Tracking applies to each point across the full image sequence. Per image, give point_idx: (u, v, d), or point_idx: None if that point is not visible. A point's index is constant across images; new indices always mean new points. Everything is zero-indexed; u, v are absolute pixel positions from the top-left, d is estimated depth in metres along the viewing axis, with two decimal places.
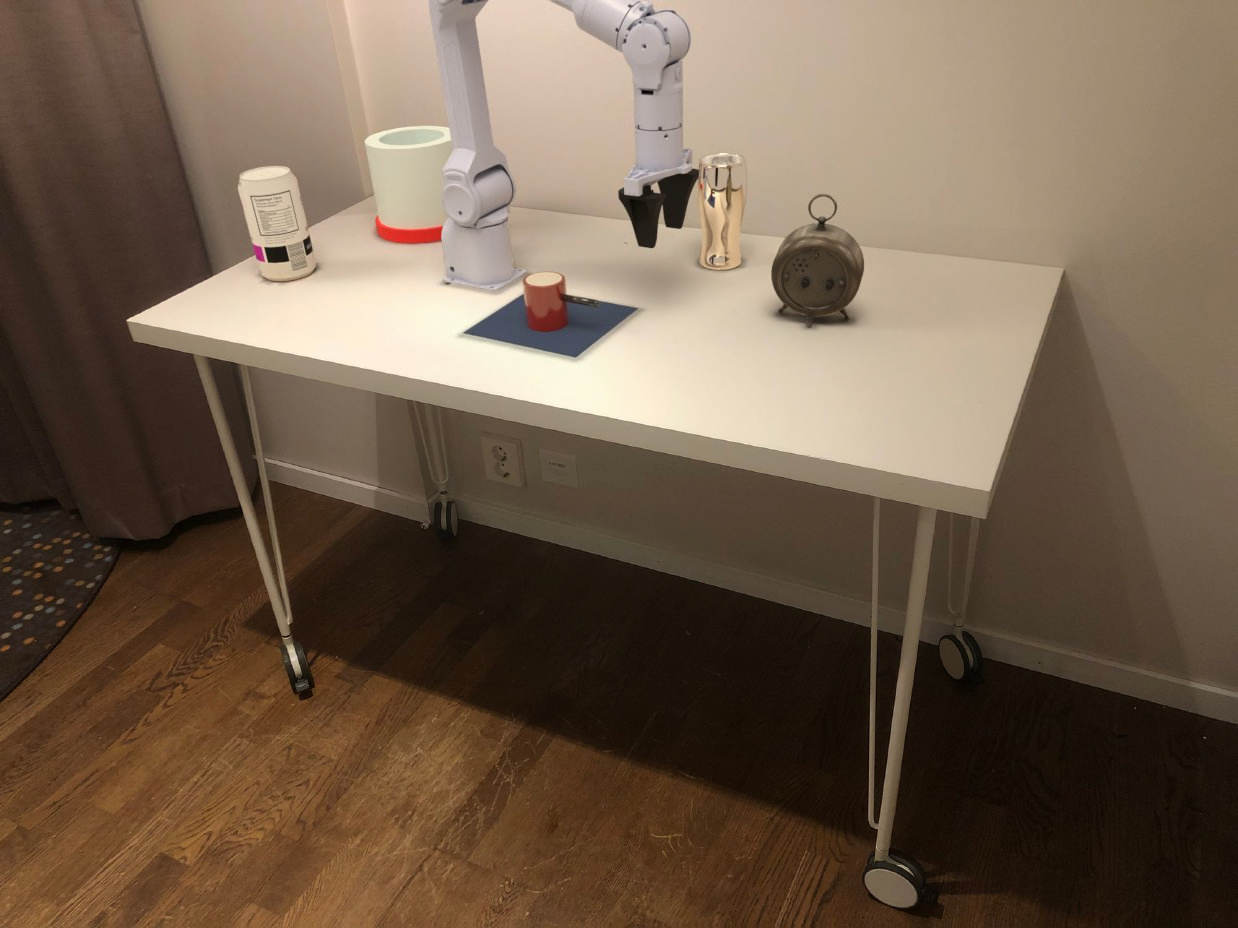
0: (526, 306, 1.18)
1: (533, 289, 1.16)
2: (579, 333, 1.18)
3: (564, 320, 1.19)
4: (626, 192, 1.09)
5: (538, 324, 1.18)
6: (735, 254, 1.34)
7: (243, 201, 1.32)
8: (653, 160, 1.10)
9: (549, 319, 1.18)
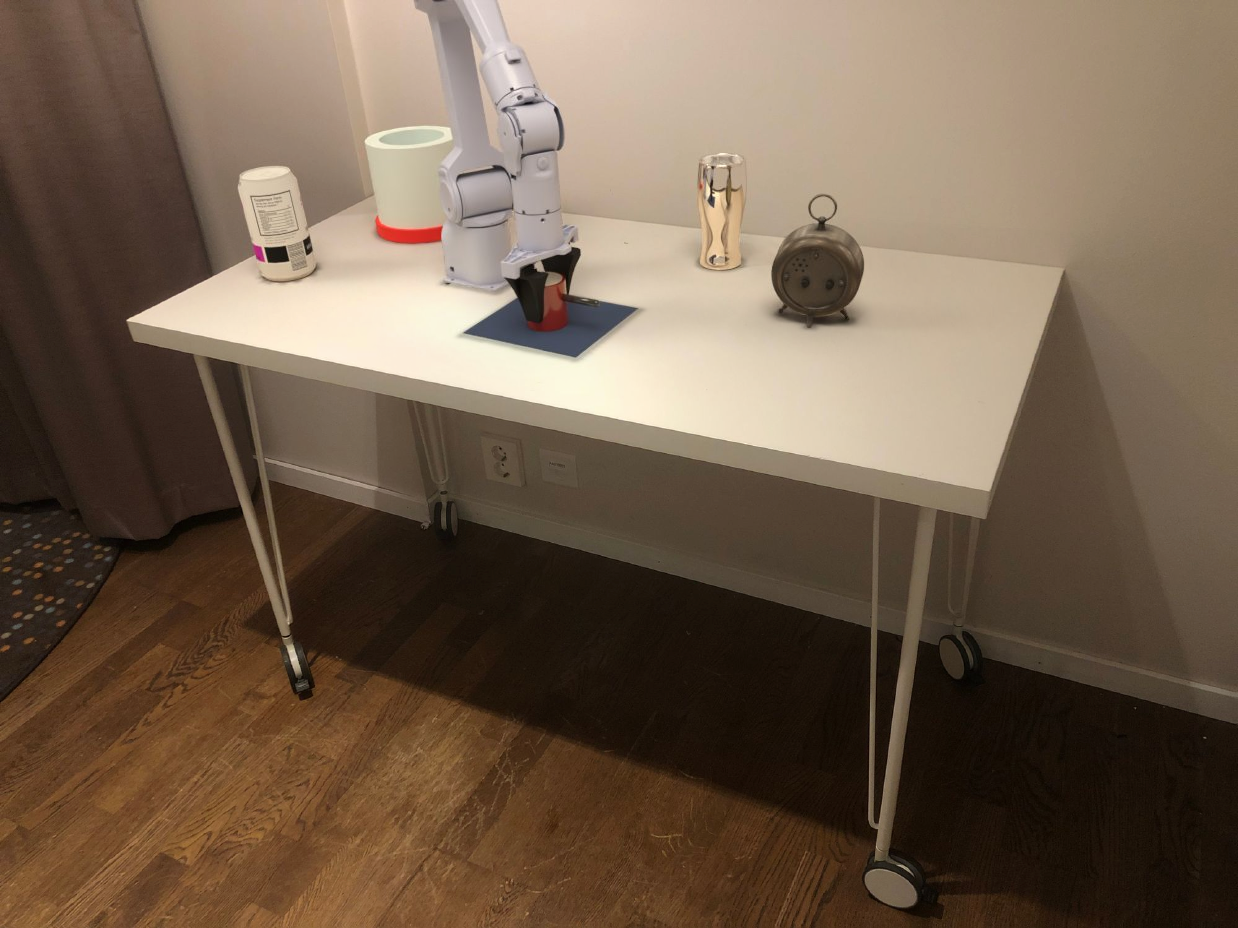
0: None
1: None
2: (579, 333, 1.18)
3: (564, 320, 1.19)
4: (504, 274, 1.11)
5: (538, 324, 1.18)
6: (735, 254, 1.34)
7: (243, 201, 1.32)
8: (531, 242, 1.12)
9: (549, 319, 1.18)
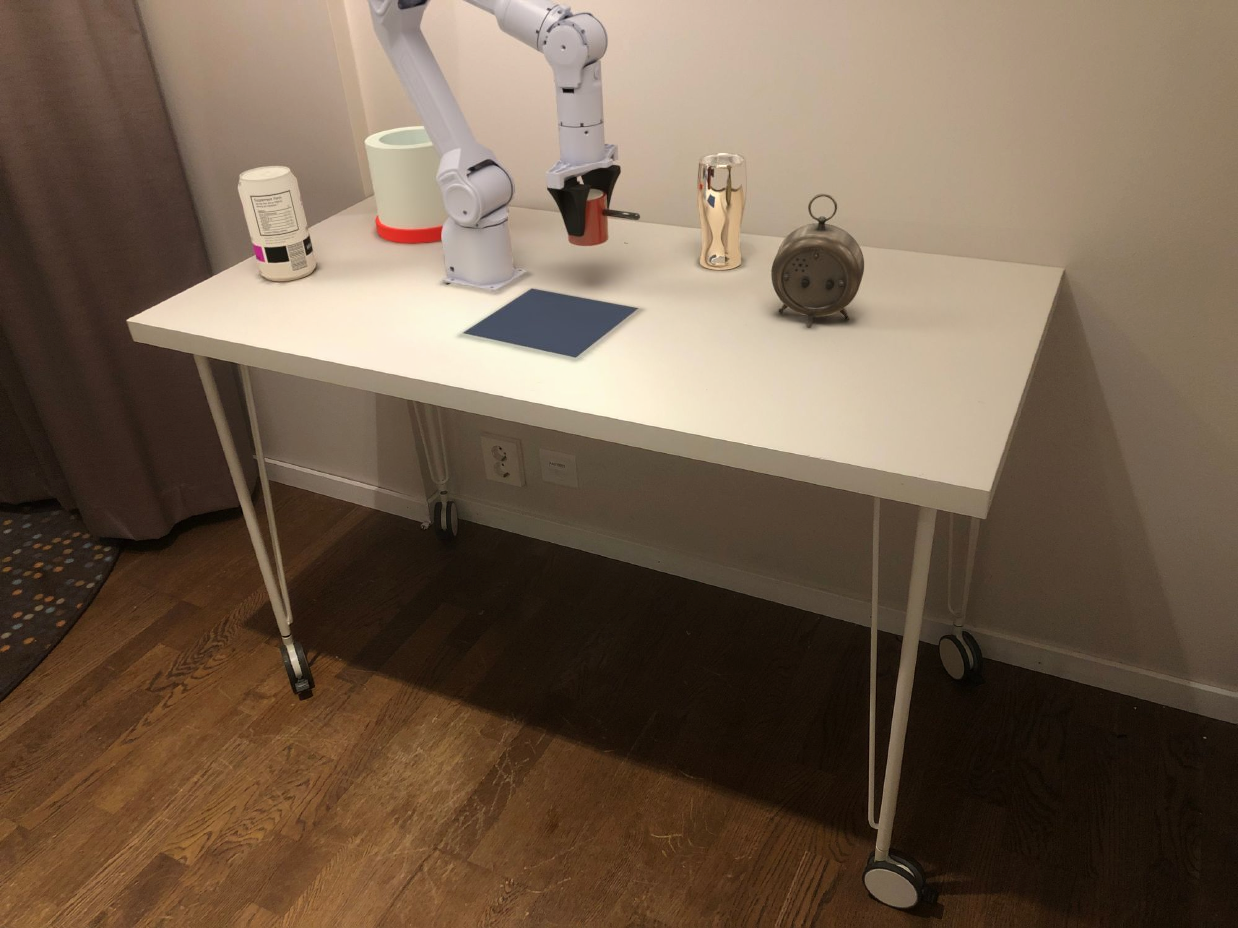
0: None
1: None
2: (579, 333, 1.18)
3: (605, 235, 1.23)
4: (549, 185, 1.15)
5: (579, 238, 1.22)
6: (735, 254, 1.34)
7: (243, 201, 1.32)
8: (575, 155, 1.16)
9: (590, 233, 1.21)
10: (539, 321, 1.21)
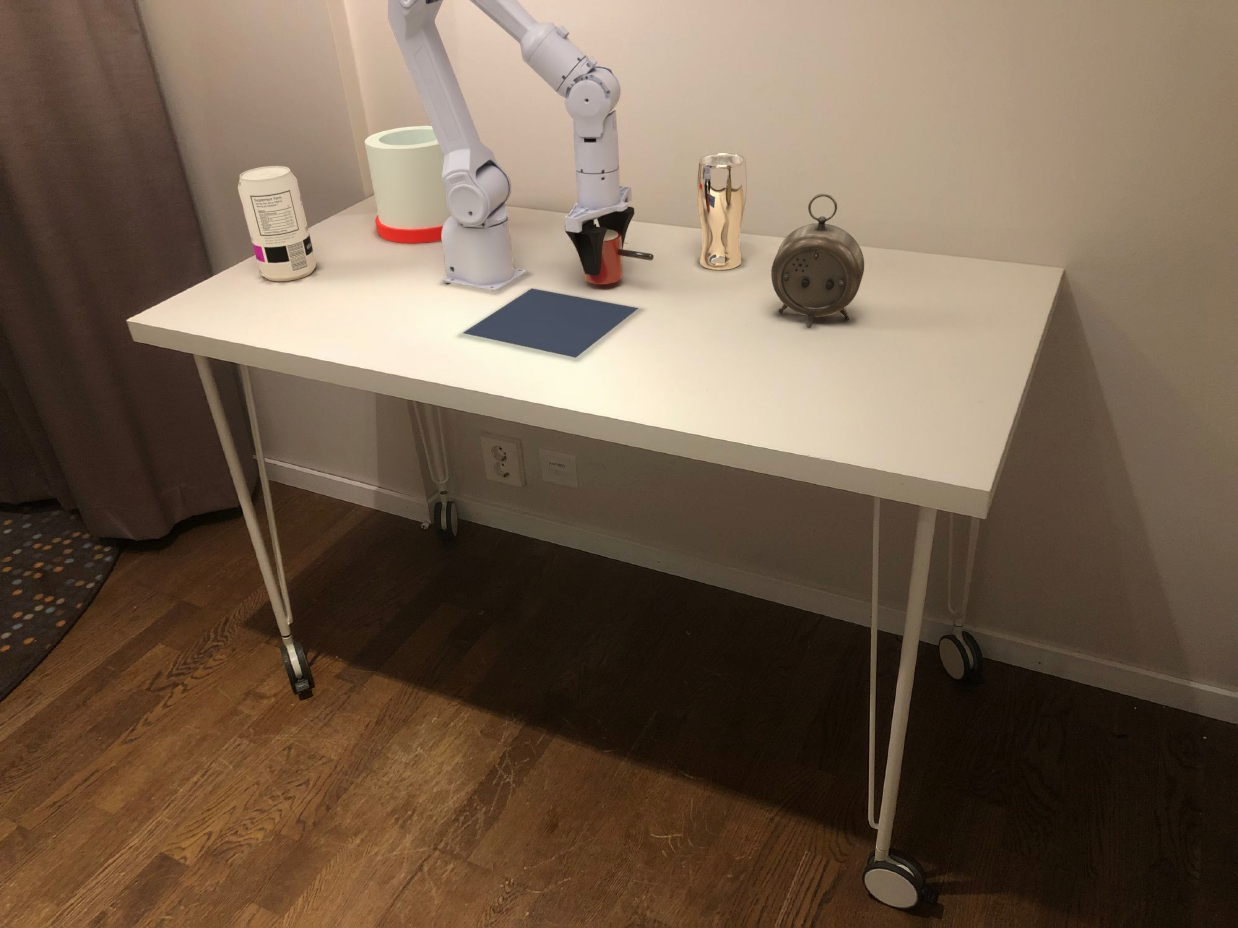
0: None
1: None
2: (579, 333, 1.18)
3: (619, 273, 1.29)
4: (567, 228, 1.21)
5: (595, 277, 1.28)
6: (735, 254, 1.34)
7: (243, 201, 1.32)
8: (592, 199, 1.22)
9: (606, 272, 1.28)
10: (539, 321, 1.21)
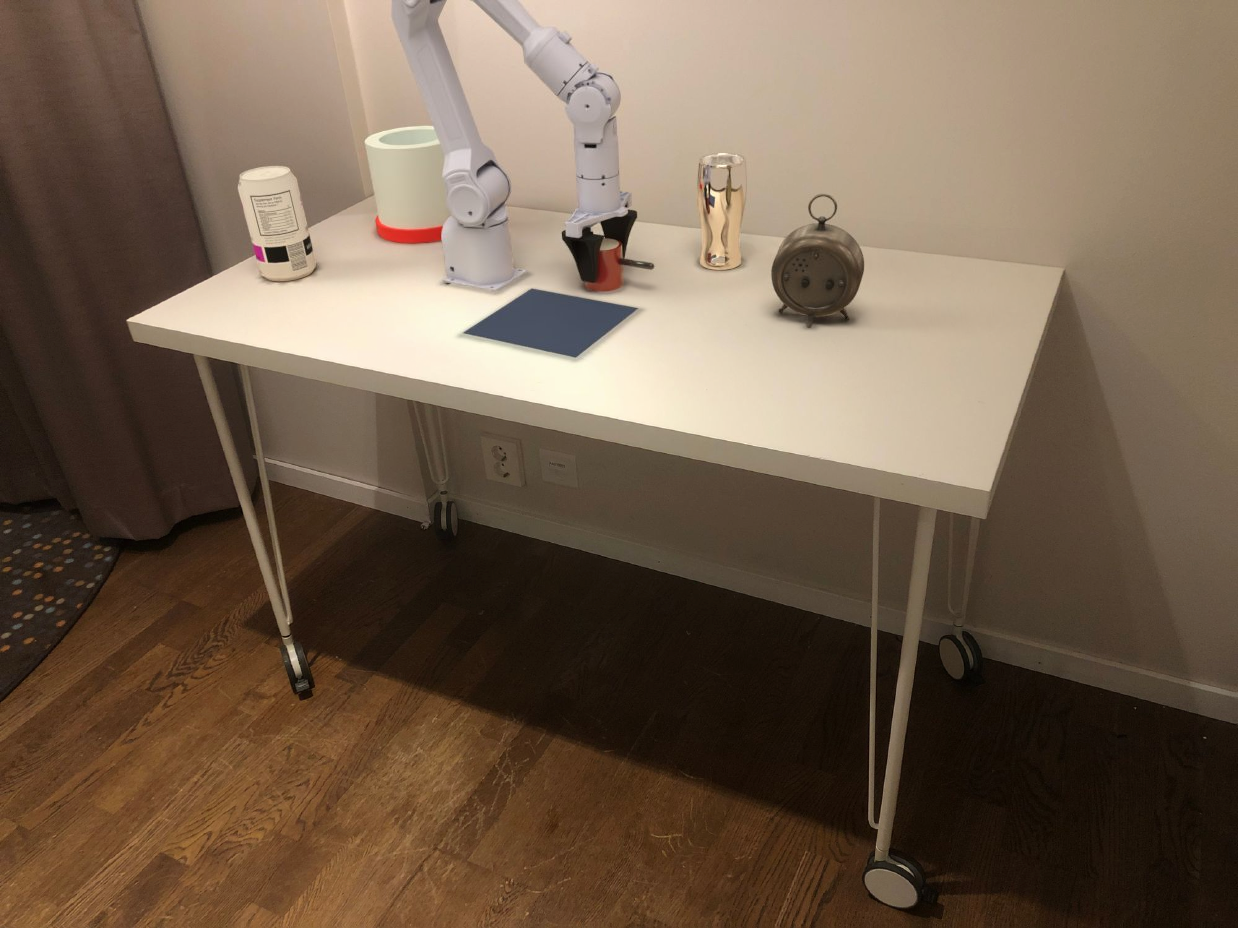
0: None
1: None
2: (579, 333, 1.18)
3: (620, 282, 1.30)
4: (568, 234, 1.21)
5: (596, 286, 1.29)
6: (735, 254, 1.34)
7: (243, 201, 1.32)
8: (592, 205, 1.22)
9: (607, 281, 1.28)
10: (539, 321, 1.21)
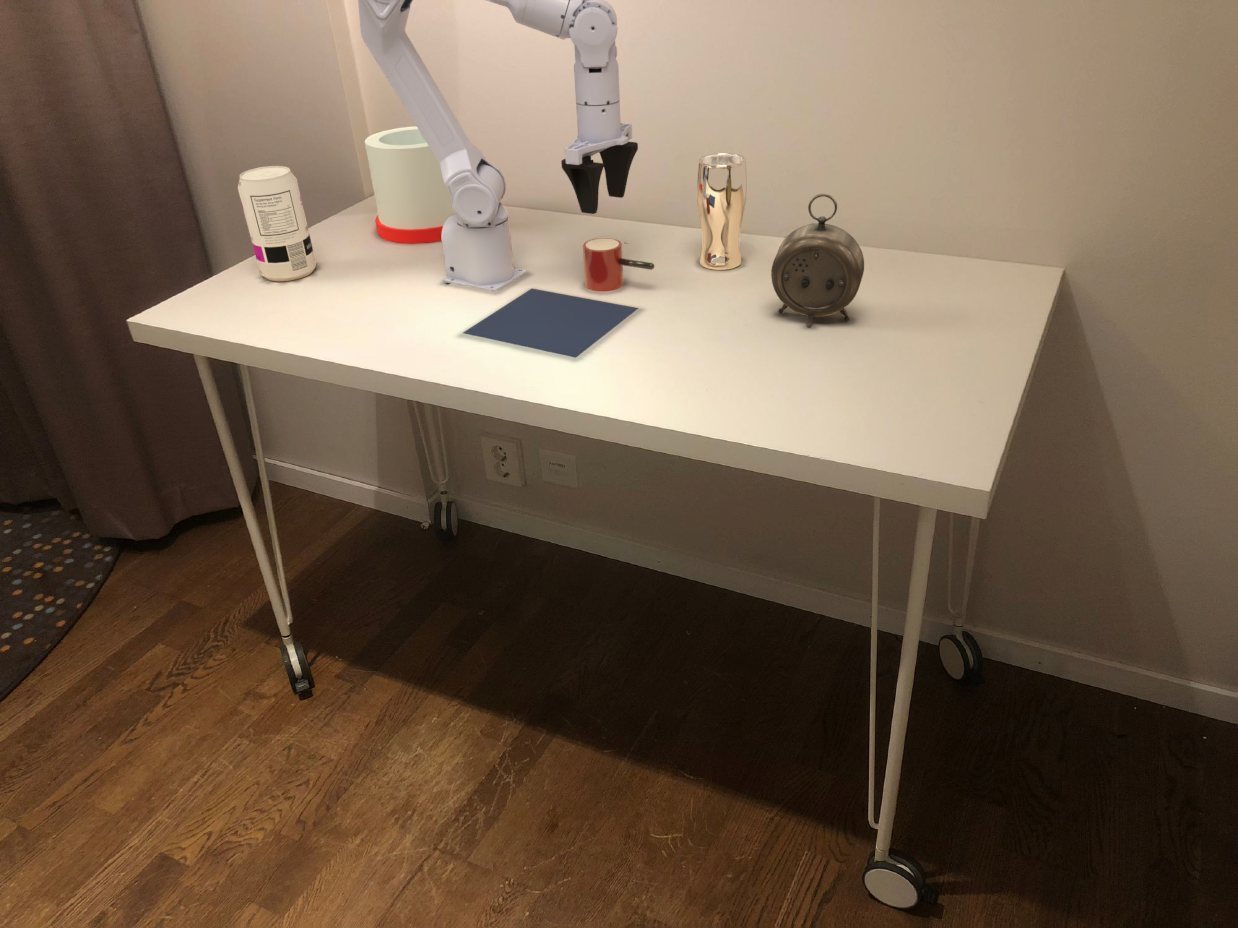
0: (585, 269, 1.29)
1: (593, 253, 1.26)
2: (579, 333, 1.18)
3: (620, 282, 1.30)
4: (568, 161, 1.20)
5: (596, 286, 1.29)
6: (735, 254, 1.34)
7: (243, 201, 1.32)
8: (592, 133, 1.21)
9: (607, 281, 1.28)
10: (539, 321, 1.21)
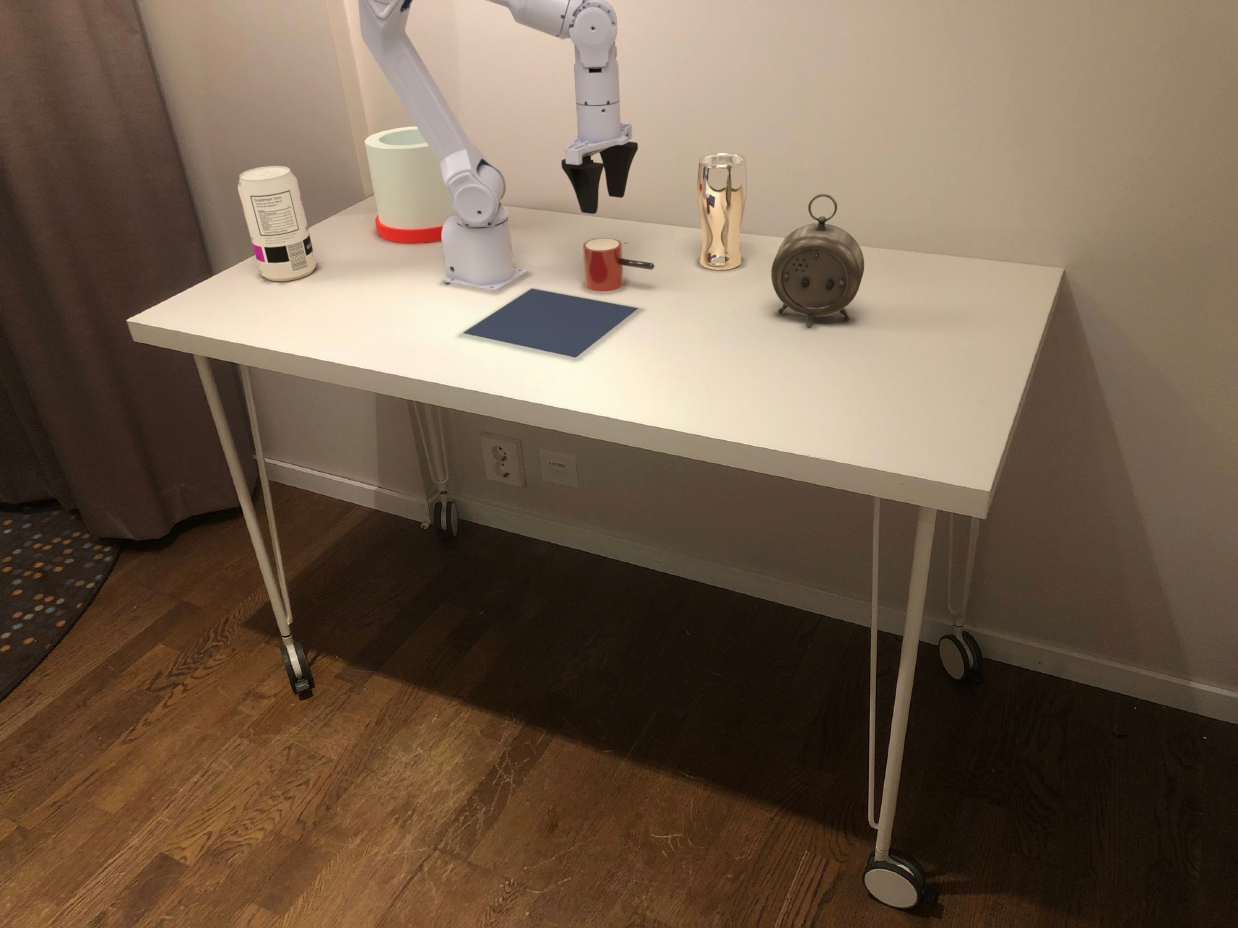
0: (585, 269, 1.29)
1: (593, 253, 1.26)
2: (579, 333, 1.18)
3: (620, 282, 1.30)
4: (568, 161, 1.20)
5: (596, 286, 1.29)
6: (735, 254, 1.34)
7: (243, 201, 1.32)
8: (592, 133, 1.21)
9: (607, 281, 1.28)
10: (539, 321, 1.21)
